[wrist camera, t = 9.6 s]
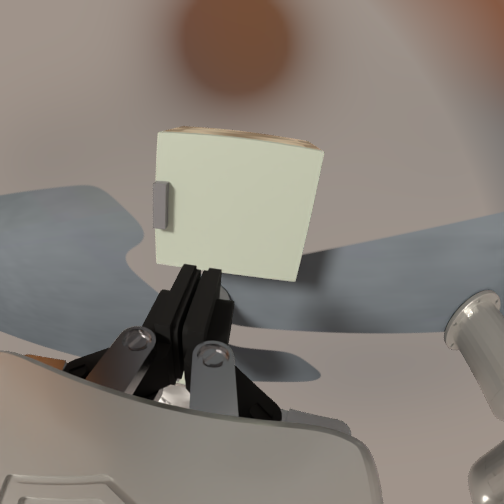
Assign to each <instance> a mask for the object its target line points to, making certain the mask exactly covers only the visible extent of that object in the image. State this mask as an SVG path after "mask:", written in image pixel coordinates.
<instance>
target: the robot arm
mask: <svg viewBox="0 0 504 504" xmlns="http://www.w3.org/2000/svg"><path fill="white" fill-rule="evenodd" d="M221 275H222V269H216V268H209V269H208V271H207V270H204V271H203V274H202V276H201V270H200V269H197V266H196V265H189V264H184V265H183V266H182V268H181V270H180V272H179V274H178V276H177V279H176V280H175V282H174V284H173V286H172V288H171V290H170V291H169V290H162V291H161V292H160V293H159V295H158V297H157V299H156V301H155V303H154V304H153V306H152V308H151V310H150V312H149V314H148V316H147V318H146V320H145V322H144V324H143V326H142V327H141V326H134V327H130V328H127V329H125V330H124V331H123V332H122V333H121V334H120V335H119V336H118V337H117V339H116V340H115V341H114V342H113V344H112V345H111V346H110V348H107V349H104V350H101V351H98V352H95V353H93V354H90V355H87V356H84V357H81V358H78V359H75V360H73V361H71V362H69V363H66V360H60V359H54V358H48V357H42V356H36V355H31V354H26V355H21V354H18V353H14V352H9V351H0V504H383V498H382V491H381V485H380V480H379V475H378V471H377V468H376V464H375V462H374V459H373V456H372V454H371V452H370V450H369V449H368V448H367V446H366V445H365V444H364V443H363V442H361V441H360V440H358V439H356V438H354V437H352V436H351V430H350V428H349V427H348V425H347V424H345V423H344V422H343V421H340V420H338V419H332V418H328V417H323V416H318V415H314V414H309V413H305V412H301V411H297V410H293V409H290V410H289V411H287V410H283V409H280V408H279V407H278V405H277V404H276V403H275V402H273V400H272V399H270V398H269V397H268V396H267V395H266V394H265V393H264V392H263V391H262V390H260V389H259V388H258V387H257V386H256V385H255V384H254V383H253V382H252V381H251V380H250V379H249V378H248V377H247V376H246V375H245V374H243V373H242V372H241V371H240V370H239V369H238V368H237V367H236V366H235V361H234V354H233V351H232V350H231V348H230V347H229V346H228V343H229V336H230V331H231V324H232V317H233V309H234V301H230V300H223V299H219V298H220V286H221ZM499 310H500V298H499V296H498V295H497V294H496V293H495V292H494V291H492V290H485V291H482V292H479V293H477V294H475V295H473V296H472V297H471V298H469V299H468V300H467V301H466V302H465V303H463V304H462V305H461V306H460V308H459V309H458V310H457V311H456V312H455V313H454V315H453V316H452V318H451V319H450V321H449V323H448V325H447V327H446V330H445V333H444V341H445V343H446V345H447V346H448V348H450V349H451V350H460V351H461V353H462V355H463V357H464V358H465V360H466V362H467V363H468V365H469V367H470V369H471V371H472V373H473V375H474V376H475V378H476V380H477V382H478V384H479V385H480V388H481V390H482V392H483V394H484V396H485V398H486V400H487V402H488V404H489V406H490V408H491V410H492V412H493V414H494V415H495V417H497V418H498V419H499V420H501V421H504V316H503V315H502V314H501V312H500V311H499ZM183 373H184V377H185V385H186V389H187V391H188V392H189V393H190V404H189V409H188V408H183V407H179V406H174V405H169V404H165V403H161V402H159V400H160V398H161V396H162V394H163V391H164V390H163V388H165V387H167V386H169V385H175V384H176V381H177V379H182V376H183ZM468 485H469V490H470V495H471V499H472V503H473V504H504V440H503V441H502V442H501V443H499V444H498V445H497V446H495V447H494V448H493V449H491V450H490V451H489V452H487V453H486V454H484V455H483V456H482V457H480V458H479V459H478V460H477V461H476V462H475V463H474V464H473V466H472V467H471V469H470V471H469V475H468Z"/></svg>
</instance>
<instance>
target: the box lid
mask: <svg viewBox="0 0 504 504" xmlns="http://www.w3.org/2000/svg"><path fill="white" fill-rule="evenodd" d="M323 156H324V152H323V151H322V150H318V149H312V148H307V147H302V146H296V145H290V144H284V143H278V142H271V141H265V140H257V139H250V138H242V137H233V136H223V135H213V134H201V133H186V132H166V131H162V132H159V133H158V140H157V157H156V182H155V183H153V228H155V233H156V234H155V235H156V262H157V264H164V265H171V266H178V267H182V266H183V265H184V264H189V265H196V266H197V269H200V270H207V271H208V269H209V268H216V269H222V273H228V274H236V275H244V276H252V277H260V278H268V279H276V280H284V281H293V282H295V281H296V277H297V273H298V269H299V265H300V261H301V257H302V253H303V249H304V244H305V240H306V236H307V231H308V227H309V223H310V218H311V214H312V210H313V205H314V200H315V196H316V191H317V186H318V182H319V177H320V172H321V167H322V162H323Z"/></svg>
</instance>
